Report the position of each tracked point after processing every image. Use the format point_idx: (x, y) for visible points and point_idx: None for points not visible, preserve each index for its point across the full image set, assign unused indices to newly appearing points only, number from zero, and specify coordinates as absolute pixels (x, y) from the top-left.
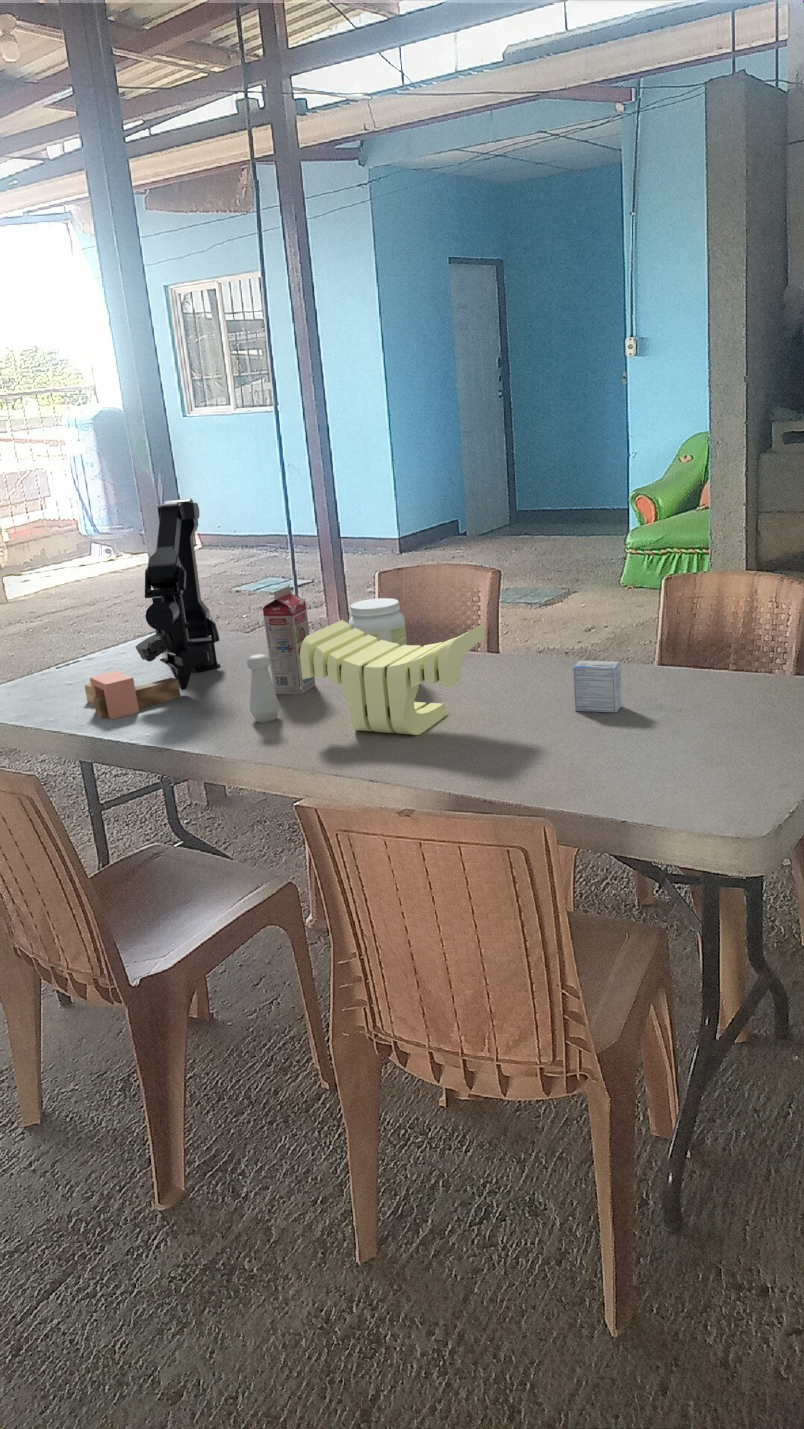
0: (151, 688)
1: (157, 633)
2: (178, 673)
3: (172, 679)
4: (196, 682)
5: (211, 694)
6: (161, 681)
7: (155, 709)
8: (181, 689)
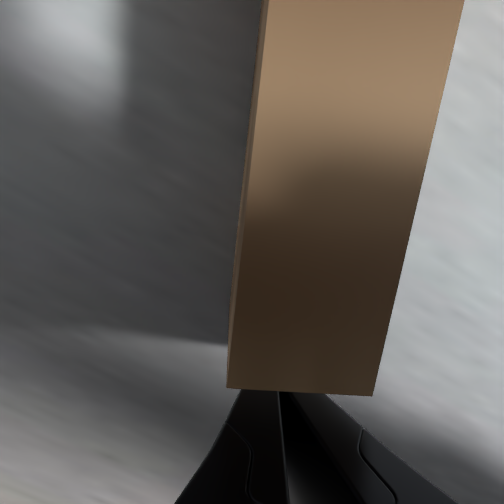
0: (263, 43)
1: None
2: (203, 465)
3: (293, 361)
4: None
5: (106, 437)
6: (345, 249)
7: (110, 25)
8: None
